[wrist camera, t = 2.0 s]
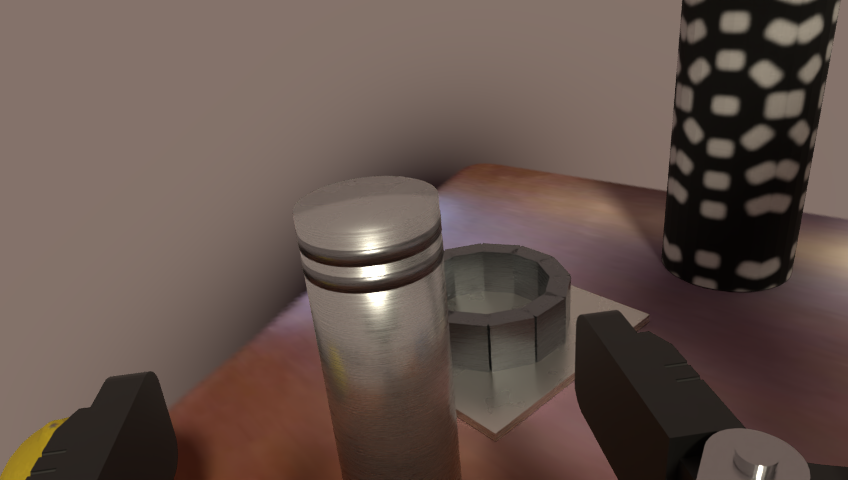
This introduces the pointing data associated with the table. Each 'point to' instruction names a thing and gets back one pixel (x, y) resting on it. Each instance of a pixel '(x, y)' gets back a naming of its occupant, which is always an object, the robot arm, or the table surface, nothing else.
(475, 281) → the ring collar
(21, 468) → the lemon
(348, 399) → the piston
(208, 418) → the table surface
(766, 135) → the white-spotted black cylinder
